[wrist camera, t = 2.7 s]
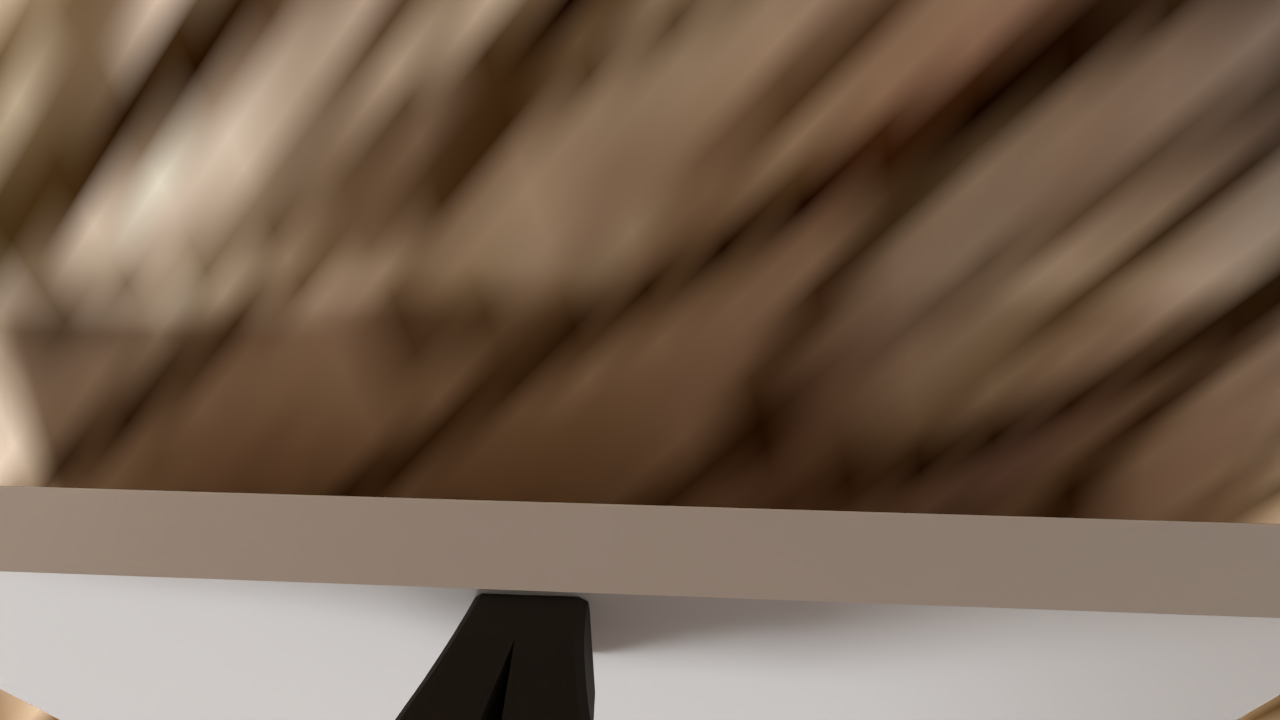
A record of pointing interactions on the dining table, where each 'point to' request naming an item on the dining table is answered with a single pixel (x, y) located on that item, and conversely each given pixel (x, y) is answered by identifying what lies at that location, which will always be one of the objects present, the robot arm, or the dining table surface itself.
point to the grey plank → (629, 607)
